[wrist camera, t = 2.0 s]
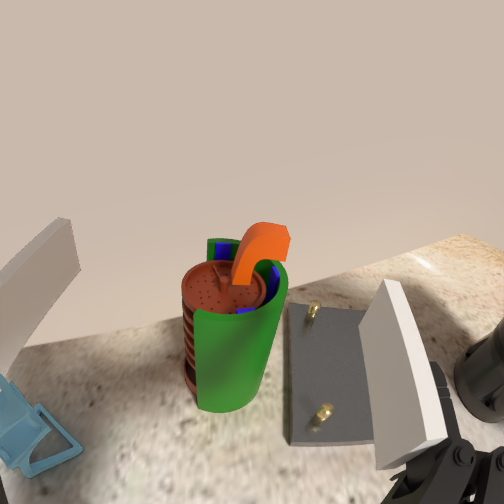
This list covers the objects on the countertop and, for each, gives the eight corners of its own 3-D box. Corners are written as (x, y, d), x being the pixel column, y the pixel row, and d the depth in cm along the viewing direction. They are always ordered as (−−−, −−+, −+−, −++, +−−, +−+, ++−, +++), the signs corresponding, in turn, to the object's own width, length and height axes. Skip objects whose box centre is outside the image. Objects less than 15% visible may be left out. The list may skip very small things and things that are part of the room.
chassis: (401, 321, 43) (413, 301, 41) (436, 433, 26) (457, 418, 23) (287, 309, 43) (294, 287, 40) (289, 446, 25) (301, 432, 23)
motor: (179, 344, 35) (176, 196, 24) (248, 337, 38) (276, 196, 26) (191, 416, 27) (185, 274, 16) (270, 404, 30) (328, 265, 18)
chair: (2, 444, 17) (-62, 390, 10) (41, 404, 23) (-8, 341, 16) (42, 494, 14) (-28, 460, 8) (85, 448, 21) (33, 398, 14)
